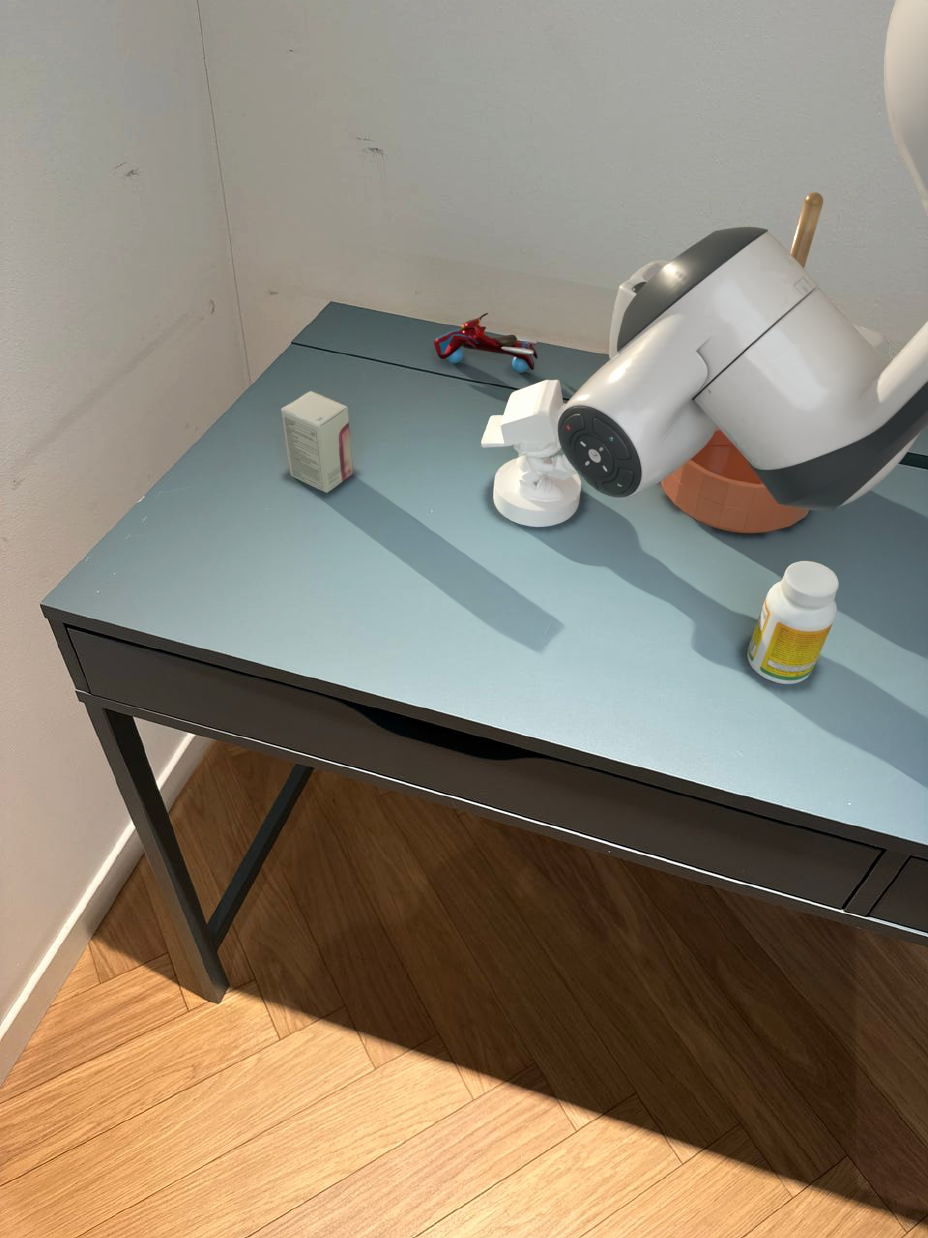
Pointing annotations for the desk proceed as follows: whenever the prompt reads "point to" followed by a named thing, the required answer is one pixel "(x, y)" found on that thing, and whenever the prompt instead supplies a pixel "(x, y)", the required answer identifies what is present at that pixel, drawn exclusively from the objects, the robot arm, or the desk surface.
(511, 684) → the desk surface
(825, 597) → the supplement bottle
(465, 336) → the hoverbike
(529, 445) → the character figurine
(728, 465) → the bowl
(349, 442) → the small box
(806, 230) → the wooden post stand
